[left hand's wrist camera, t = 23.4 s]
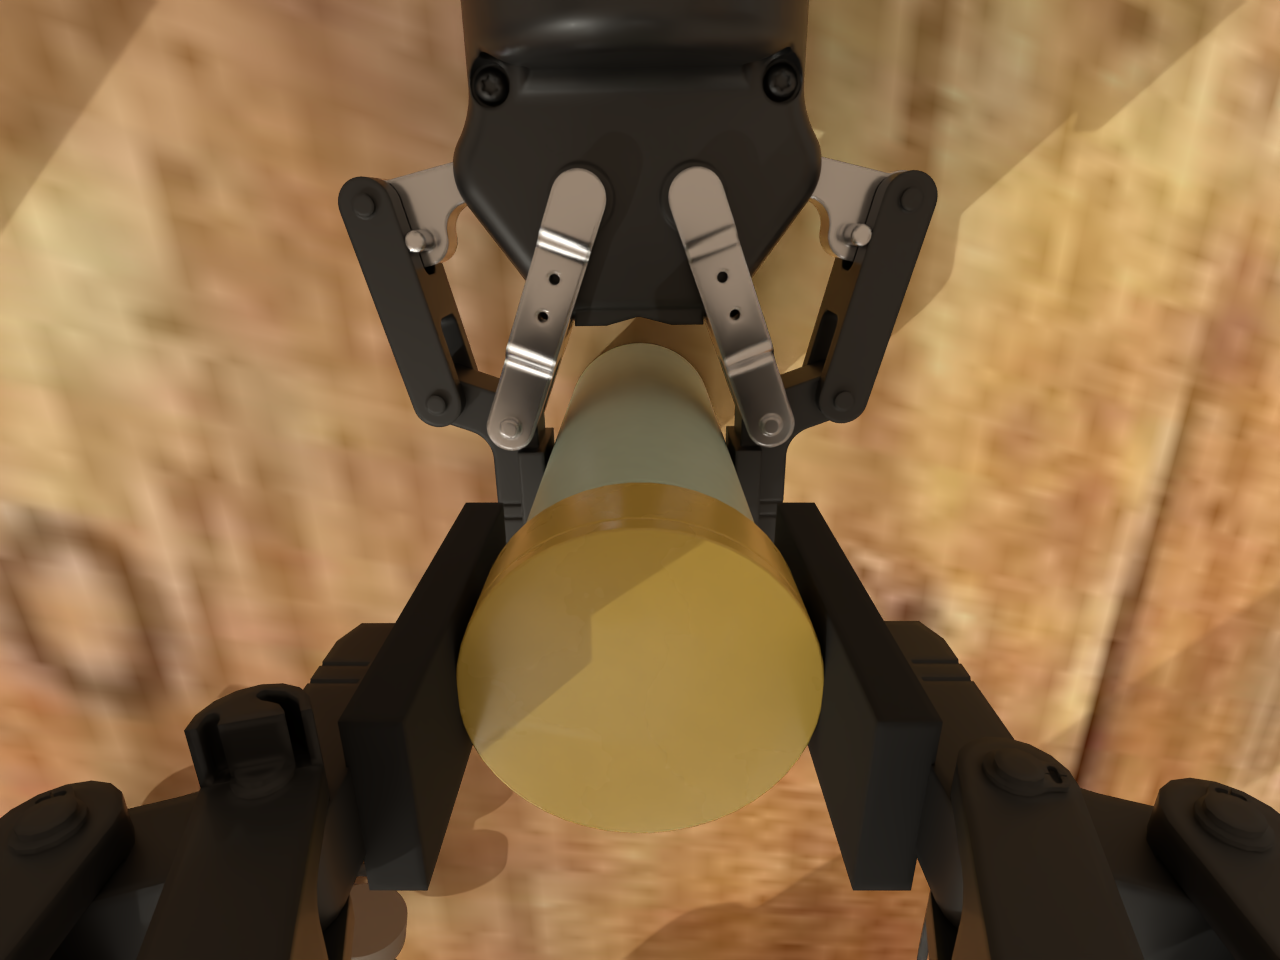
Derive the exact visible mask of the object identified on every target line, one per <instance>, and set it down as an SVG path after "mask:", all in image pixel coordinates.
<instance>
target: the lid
mask: <svg viewBox="0 0 1280 960" xmlns="http://www.w3.org/2000/svg"><path fill="white" fill-rule="evenodd" d="M456 680H457V690H458V699H459V707H460V713H461V717H462V720H463V724H464V726H465V729H466V731H467V733H468V735H469V738H470V740H471V742H472V744H473V745H474V747H475V749H476V750H477V752H478V753H479V755H480V757H481V758H482V760H483V761H484V762H485V763H486V764H487V766H488V767H489V768H490V769H491V770H492V772H493V773H494V774H495V775H496V776H497V777H498V778H499V779H500V780H501V781H502V782H503V783H504V784H506V785H507V786H508V787H509V788H510V789H511V790H512V791H514V792H515V793H517V794H518V795H519V796H521V797H522V798H523V799H525V800H526V801H528V802H529V803H531V804H533V805H535V806H537V807H538V808H540V809H542V810H544V811H545V812H548V813H550V814H552V815H555V816H557V817H559V818H562V819H564V820H567V821H570V822H573V823H576V824H580V825H583V826H586V827H591V828H596V829H601V830H606V831H614V832H625V833H656V832H666V831H675V830H680V829H685V828H690V827H694V826H698V825H701V824H704V823H707V822H711V821H714V820H717V819H719V818H721V817H724V816H726V815H728V814H731V813H733V812H735V811H737V810H739V809H740V808H742V807H744V806H746V805H748V804H749V803H751V802H753V801H754V800H756V799H757V798H758V797H760V796H761V795H763V794H764V793H765V792H767V791H768V790H769V789H771V788H772V787H773V786H774V785H775V784H776V783H777V782H778V781H779V780H780V779H781V778H783V777H784V776H785V775H786V773H787V772H788V771H789V770H790V769H791V767H792V766H793V765H794V764H795V763H796V761H797V760H798V759H799V757H800V756H801V754H802V753H803V751H804V749H805V748H806V746H807V745H808V743H809V741H810V739H811V737H812V734H813V732H814V730H815V727H816V725H817V722H818V719H819V715H820V711H821V704H822V695H823V686H824V662H823V657H822V652H821V648H820V643H819V641H818V638H817V635H816V633H815V630H814V628H813V625H812V622H811V620H810V618H809V615H808V613H807V610H806V608H805V605H804V603H803V600H802V598H801V596H800V593H799V591H798V588H797V586H796V583H795V581H794V579H793V576H792V574H791V571H790V569H789V567H788V565H787V563H786V562H785V560H784V558H783V556H782V555H781V553H780V551H779V550H778V549H777V547H776V546H775V545H774V544H773V542H772V541H771V540H770V538H769V537H768V536H767V535H766V534H765V533H764V532H763V531H762V530H761V529H760V528H759V527H758V526H757V525H756V524H755V523H754V522H753V521H751V520H750V519H748V518H747V517H746V516H744V515H743V514H742V513H740V512H739V511H737V510H736V509H734V508H733V507H731V506H729V505H727V504H725V503H723V502H721V501H720V500H718V499H716V498H713V497H711V496H708V495H705V494H703V493H700V492H698V491H695V490H691V489H687V488H683V487H679V486H674V485H667V484H659V483H622V484H614V485H606V486H602V487H598V488H594V489H590V490H586V491H583V492H580V493H578V494H575V495H572V496H570V497H567V498H565V499H563V500H561V501H559V502H557V503H555V504H553V505H552V506H550V507H548V508H546V509H544V510H543V511H542V512H540V513H539V514H537V515H536V516H535V517H533V518H532V519H531V520H529V521H528V522H527V523H526V524H525V525H524V526H523V527H522V528H521V529H520V530H519V531H517V532H516V533H515V534H514V535H513V536H512V538H511V539H510V540H509V542H508V543H507V544H506V545H505V547H504V548H503V549H502V551H501V552H500V554H499V555H498V557H497V559H496V561H495V563H494V564H493V566H492V568H491V570H490V572H489V575H488V577H487V580H486V582H485V584H484V587H483V589H482V592H481V594H480V597H479V599H478V601H477V604H476V606H475V609H474V611H473V614H472V616H471V618H470V621H469V623H468V626H467V628H466V631H465V634H464V636H463V639H462V642H461V645H460V649H459V654H458V659H457V664H456Z"/></svg>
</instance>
